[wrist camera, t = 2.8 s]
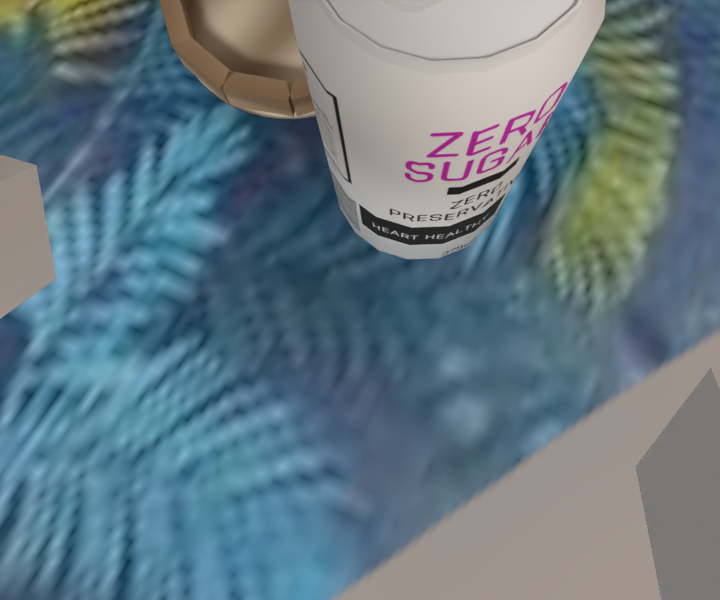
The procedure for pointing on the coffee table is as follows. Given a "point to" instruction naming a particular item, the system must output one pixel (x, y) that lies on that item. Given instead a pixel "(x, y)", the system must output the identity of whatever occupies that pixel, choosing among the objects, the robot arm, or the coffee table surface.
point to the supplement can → (435, 106)
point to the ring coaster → (242, 53)
